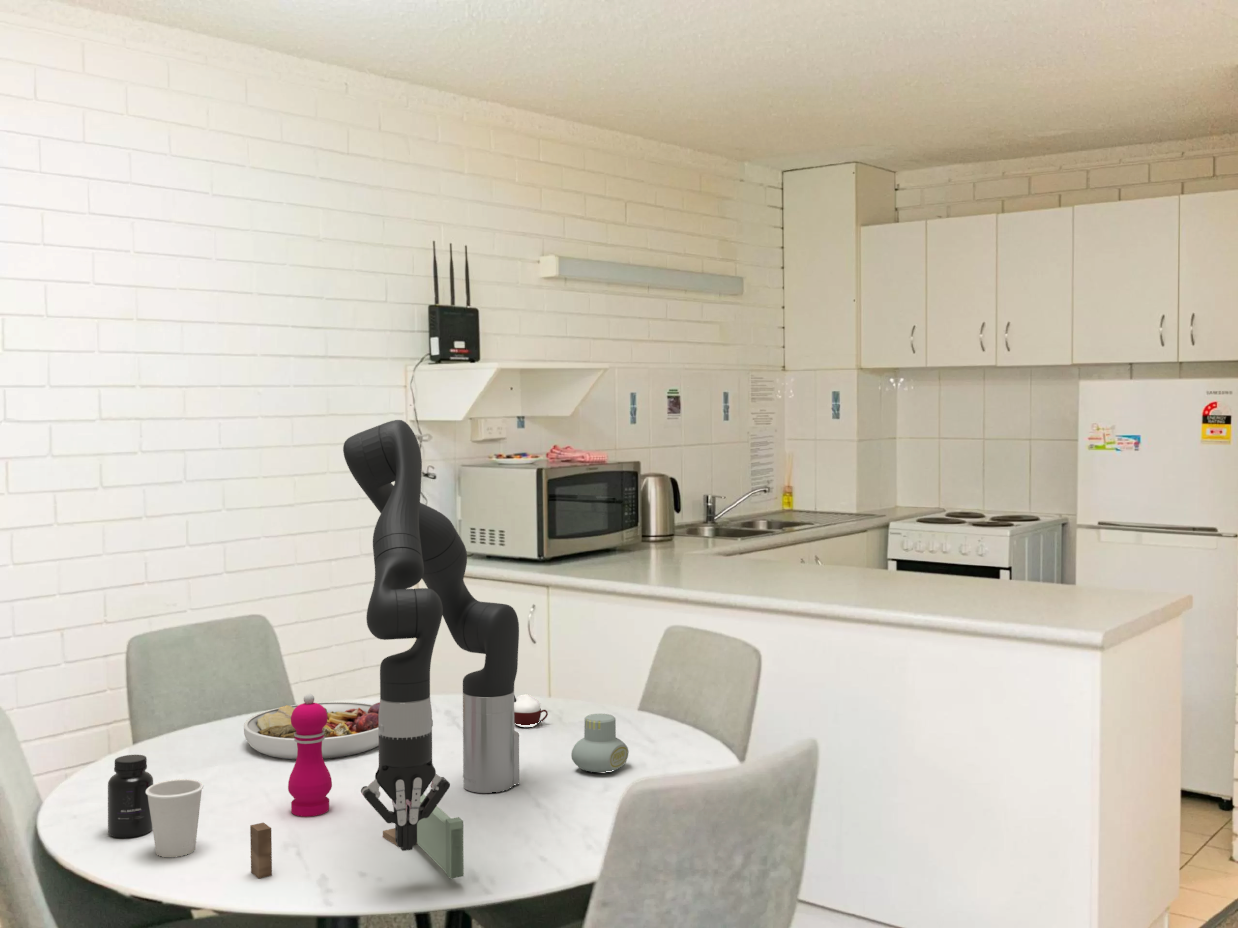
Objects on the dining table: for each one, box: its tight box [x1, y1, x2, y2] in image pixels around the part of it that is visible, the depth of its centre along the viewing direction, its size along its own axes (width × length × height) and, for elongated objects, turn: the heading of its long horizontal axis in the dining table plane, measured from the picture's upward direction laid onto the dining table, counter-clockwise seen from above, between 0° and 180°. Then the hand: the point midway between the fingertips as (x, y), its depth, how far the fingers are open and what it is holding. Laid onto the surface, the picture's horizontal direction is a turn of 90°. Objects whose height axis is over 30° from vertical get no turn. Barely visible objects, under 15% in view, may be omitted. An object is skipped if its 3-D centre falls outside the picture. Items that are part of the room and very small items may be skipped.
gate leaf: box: [416, 793, 465, 879], centre depth 181 cm, size 21×2×8 cm, turn 27°
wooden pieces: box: [249, 800, 418, 879], centre depth 185 cm, size 28×6×12 cm, turn 128°
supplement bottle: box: [107, 754, 154, 839], centre depth 195 cm, size 7×7×12 cm
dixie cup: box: [146, 778, 204, 858], centre depth 186 cm, size 8×8×10 cm
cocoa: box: [514, 693, 549, 725], centre depth 260 cm, size 10×6×12 cm, turn 74°
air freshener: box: [571, 713, 630, 773], centre depth 228 cm, size 11×8×10 cm
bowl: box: [243, 701, 380, 760], centre depth 247 cm, size 30×30×8 cm
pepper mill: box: [287, 693, 333, 818], centre depth 204 cm, size 7×7×20 cm
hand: (406, 848), depth 173 cm, fingers closed
